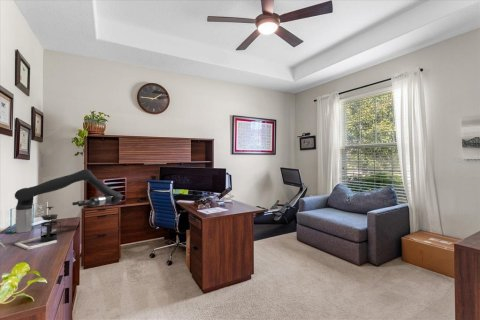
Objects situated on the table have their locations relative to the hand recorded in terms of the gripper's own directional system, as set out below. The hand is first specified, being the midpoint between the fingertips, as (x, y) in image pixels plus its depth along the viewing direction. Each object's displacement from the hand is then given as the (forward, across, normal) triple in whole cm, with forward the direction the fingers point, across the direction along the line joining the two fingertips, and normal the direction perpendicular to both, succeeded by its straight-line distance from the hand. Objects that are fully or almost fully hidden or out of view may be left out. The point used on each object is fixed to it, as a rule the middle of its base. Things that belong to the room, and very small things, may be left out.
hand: (75, 204), depth 174 cm
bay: (+24, 0, +22) cm, 32 cm away
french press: (+16, 0, +22) cm, 27 cm away
